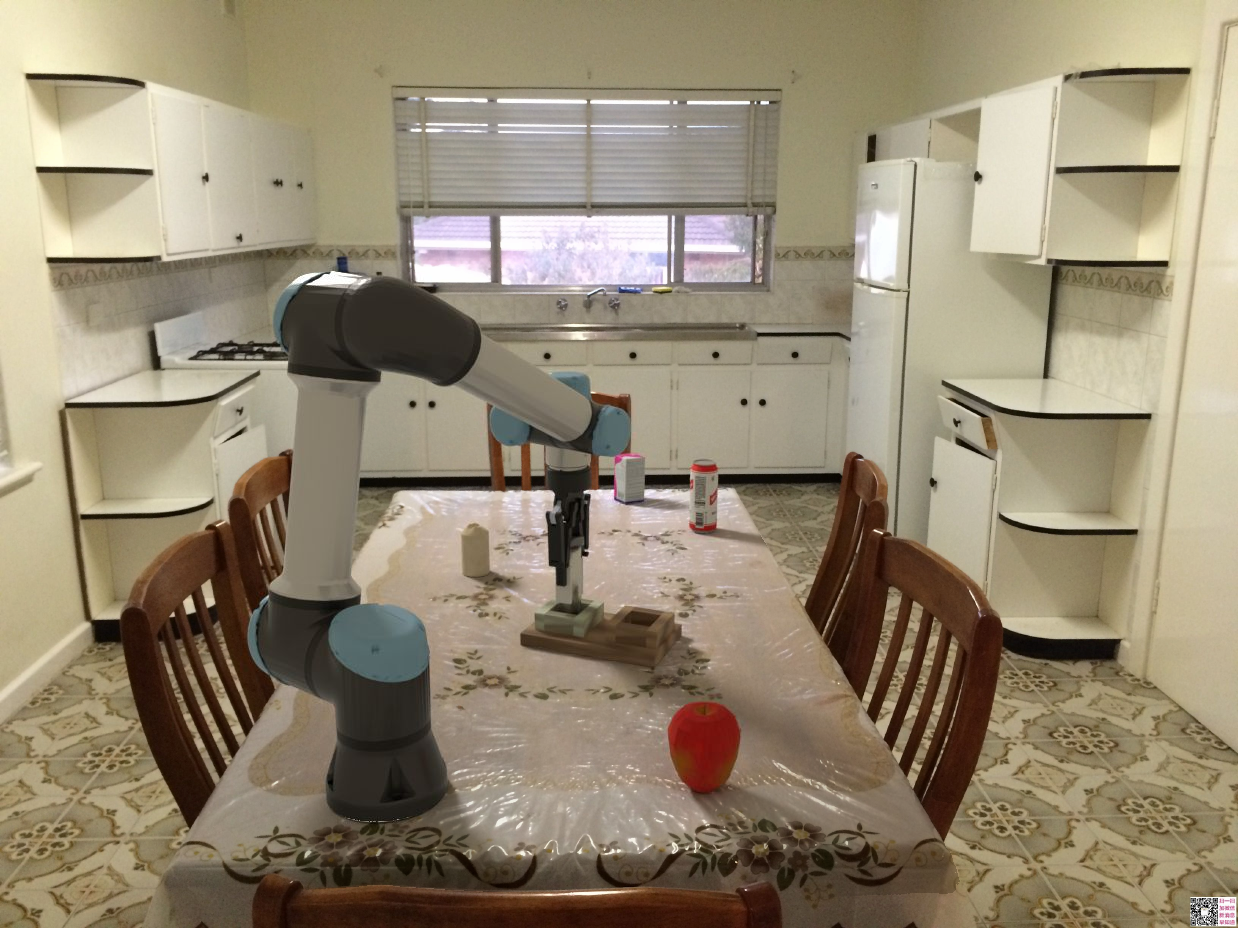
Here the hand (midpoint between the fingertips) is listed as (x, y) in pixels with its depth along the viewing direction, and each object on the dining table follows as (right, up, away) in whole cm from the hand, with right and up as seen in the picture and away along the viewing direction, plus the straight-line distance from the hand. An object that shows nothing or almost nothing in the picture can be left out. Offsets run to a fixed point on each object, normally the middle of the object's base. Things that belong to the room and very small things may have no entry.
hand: (569, 597), depth 182 cm
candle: (-20, +1, +32) cm, 38 cm away
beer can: (+28, +8, +59) cm, 66 cm away
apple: (+19, -19, -45) cm, 53 cm away
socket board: (+6, -7, -1) cm, 9 cm away
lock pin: (0, -4, +1) cm, 4 cm away
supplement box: (+11, +14, +83) cm, 85 cm away
